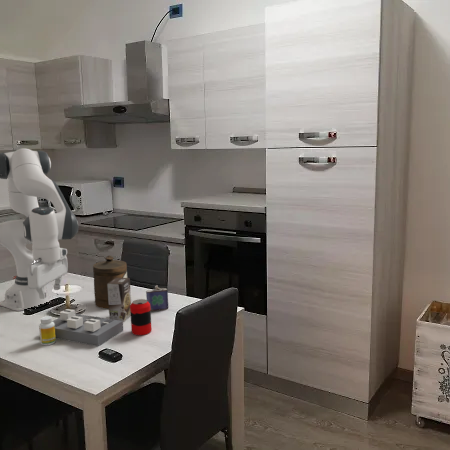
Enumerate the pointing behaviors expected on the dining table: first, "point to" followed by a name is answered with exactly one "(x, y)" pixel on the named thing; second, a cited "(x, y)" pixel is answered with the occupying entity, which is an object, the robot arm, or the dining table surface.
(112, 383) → the dining table surface
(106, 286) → the wooden container
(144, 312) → the soda can
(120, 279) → the coffee box
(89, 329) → the slider
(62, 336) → the switch panel
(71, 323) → the slider
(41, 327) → the supplement bottle
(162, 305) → the flask
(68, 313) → the slider
